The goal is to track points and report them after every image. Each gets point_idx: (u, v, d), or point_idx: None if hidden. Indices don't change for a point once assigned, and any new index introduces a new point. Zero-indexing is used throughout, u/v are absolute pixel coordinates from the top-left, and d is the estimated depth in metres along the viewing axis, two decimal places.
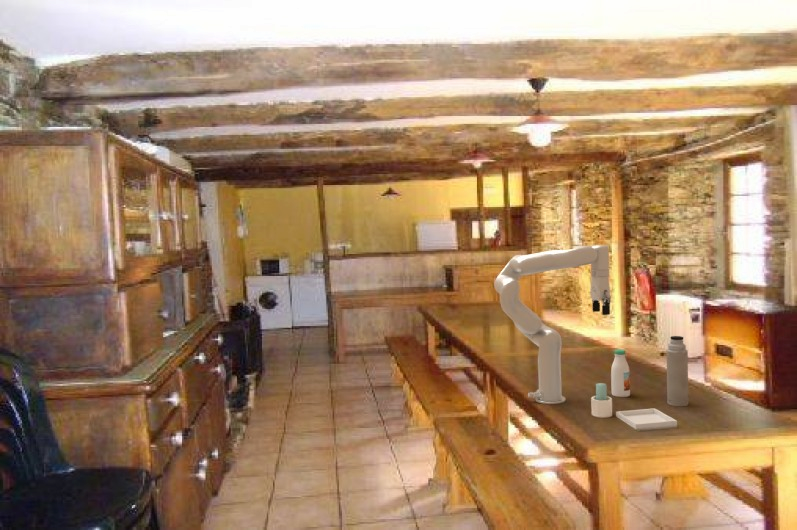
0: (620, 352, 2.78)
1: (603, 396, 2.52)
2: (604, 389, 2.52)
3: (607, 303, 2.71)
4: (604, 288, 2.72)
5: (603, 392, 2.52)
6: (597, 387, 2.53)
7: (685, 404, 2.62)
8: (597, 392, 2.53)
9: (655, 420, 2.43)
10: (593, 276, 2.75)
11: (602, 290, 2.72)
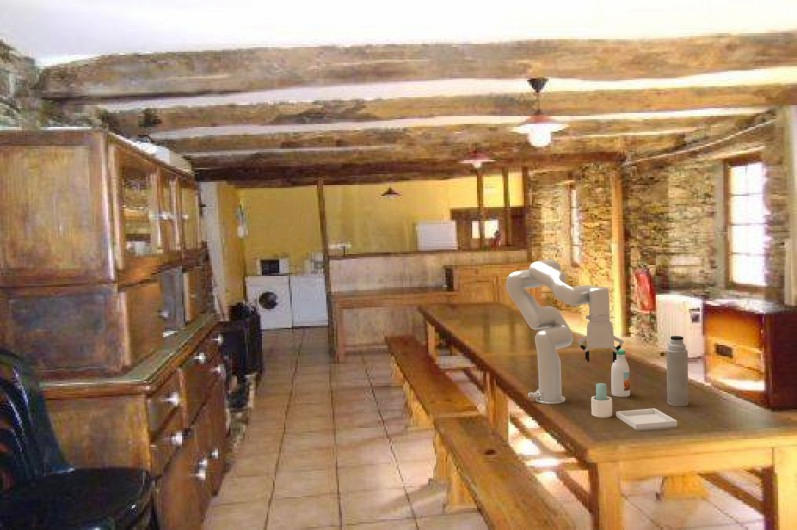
0: (620, 352, 2.78)
1: (603, 396, 2.52)
2: (604, 389, 2.52)
3: None
4: (613, 333, 2.50)
5: (603, 392, 2.52)
6: (597, 387, 2.53)
7: (685, 404, 2.62)
8: (597, 392, 2.53)
9: (655, 420, 2.43)
10: (602, 322, 2.48)
11: (613, 336, 2.49)
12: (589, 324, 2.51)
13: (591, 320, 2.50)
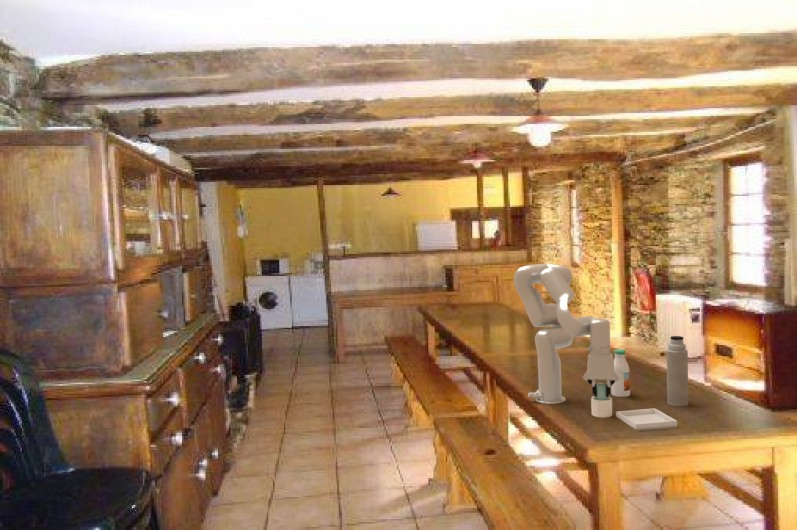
0: (620, 352, 2.78)
1: (603, 396, 2.52)
2: (604, 389, 2.52)
3: None
4: None
5: (603, 392, 2.52)
6: (597, 387, 2.53)
7: (685, 404, 2.62)
8: (597, 392, 2.53)
9: (655, 420, 2.43)
10: (602, 354, 2.49)
11: None
12: (590, 356, 2.52)
13: (592, 352, 2.51)
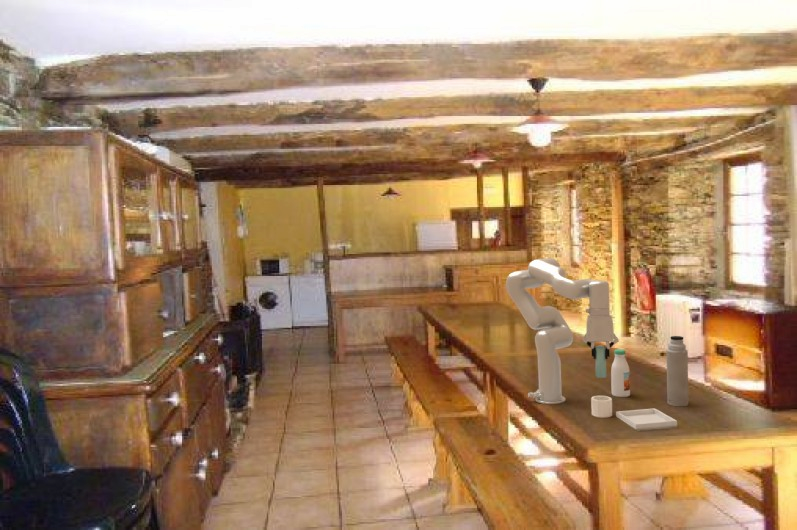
0: (620, 352, 2.78)
1: (603, 358, 2.51)
2: (604, 351, 2.51)
3: (611, 345, 2.51)
4: None
5: (602, 354, 2.50)
6: (596, 349, 2.51)
7: (685, 404, 2.62)
8: (596, 354, 2.52)
9: (655, 420, 2.43)
10: (602, 316, 2.48)
11: (613, 329, 2.49)
12: (589, 318, 2.50)
13: (591, 314, 2.50)
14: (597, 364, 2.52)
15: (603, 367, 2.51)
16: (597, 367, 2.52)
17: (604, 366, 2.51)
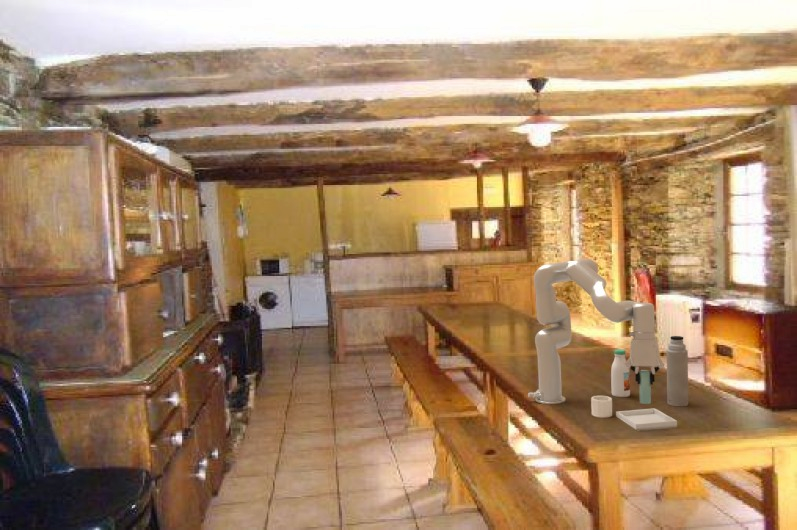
0: (620, 352, 2.78)
1: (647, 384, 2.41)
2: (649, 376, 2.41)
3: None
4: None
5: (647, 379, 2.40)
6: (641, 374, 2.41)
7: (685, 404, 2.62)
8: (641, 379, 2.42)
9: (655, 420, 2.43)
10: (647, 339, 2.38)
11: (658, 354, 2.39)
12: (633, 341, 2.41)
13: (635, 337, 2.40)
14: (641, 389, 2.42)
15: (648, 392, 2.41)
16: (641, 393, 2.42)
17: (649, 392, 2.41)
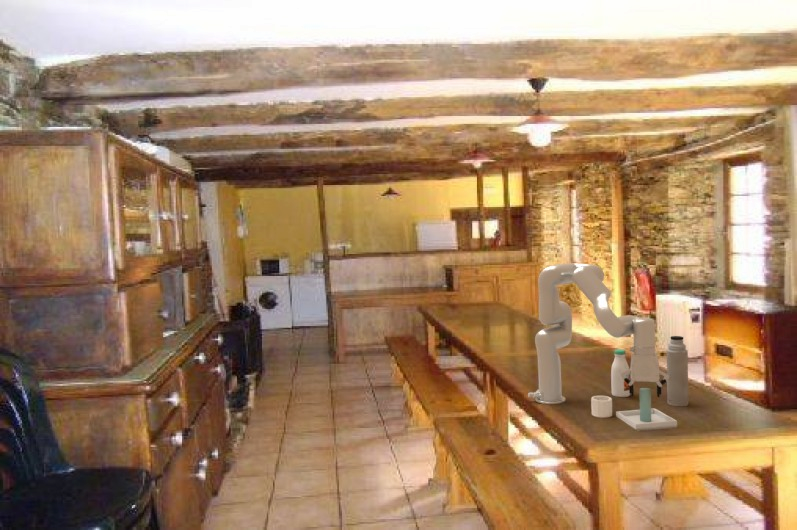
0: (620, 352, 2.78)
1: (648, 402, 2.41)
2: (649, 394, 2.41)
3: None
4: None
5: (647, 397, 2.41)
6: (641, 392, 2.42)
7: (685, 404, 2.62)
8: (641, 397, 2.42)
9: (655, 420, 2.43)
10: (647, 355, 2.38)
11: (659, 369, 2.39)
12: (633, 357, 2.41)
13: (636, 352, 2.41)
14: (642, 408, 2.42)
15: (648, 411, 2.41)
16: (642, 411, 2.42)
17: (649, 410, 2.42)
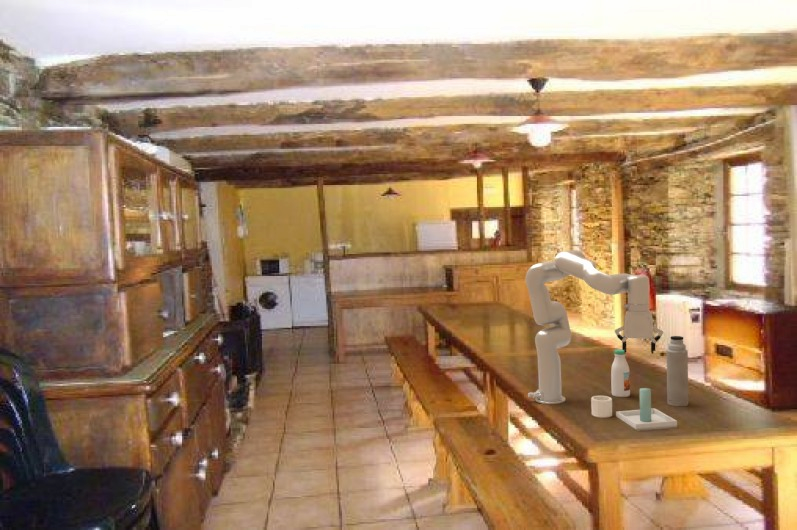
0: (620, 352, 2.78)
1: (648, 402, 2.41)
2: (649, 394, 2.41)
3: None
4: (652, 323, 2.41)
5: (647, 397, 2.41)
6: (641, 392, 2.42)
7: (685, 404, 2.62)
8: (641, 397, 2.42)
9: (655, 420, 2.43)
10: (641, 311, 2.39)
11: (652, 326, 2.41)
12: (627, 313, 2.42)
13: (630, 309, 2.42)
14: (642, 408, 2.42)
15: (648, 411, 2.41)
16: (642, 411, 2.42)
17: (649, 410, 2.42)
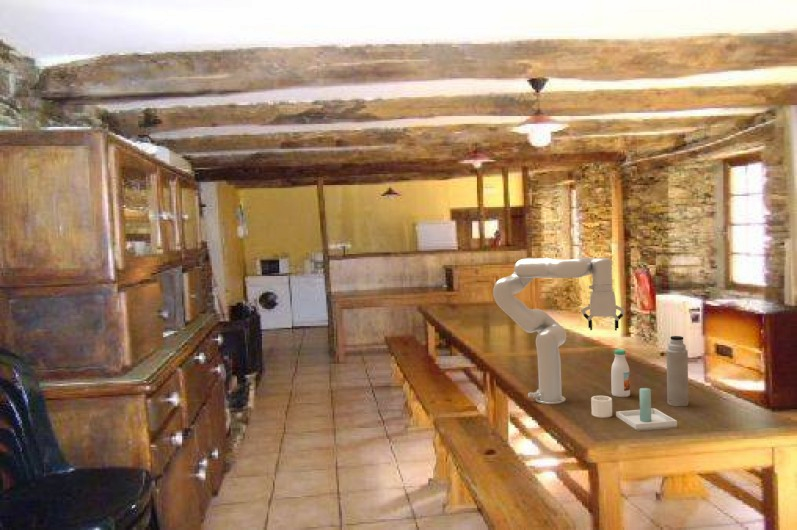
0: (620, 352, 2.78)
1: (648, 402, 2.41)
2: (649, 394, 2.41)
3: (620, 317, 2.60)
4: (615, 302, 2.60)
5: (647, 397, 2.41)
6: (641, 392, 2.42)
7: (685, 404, 2.62)
8: (641, 397, 2.42)
9: (655, 420, 2.43)
10: (604, 291, 2.58)
11: (615, 304, 2.59)
12: (592, 293, 2.61)
13: (594, 290, 2.60)
14: (642, 408, 2.42)
15: (648, 411, 2.41)
16: (642, 411, 2.42)
17: (649, 410, 2.42)
